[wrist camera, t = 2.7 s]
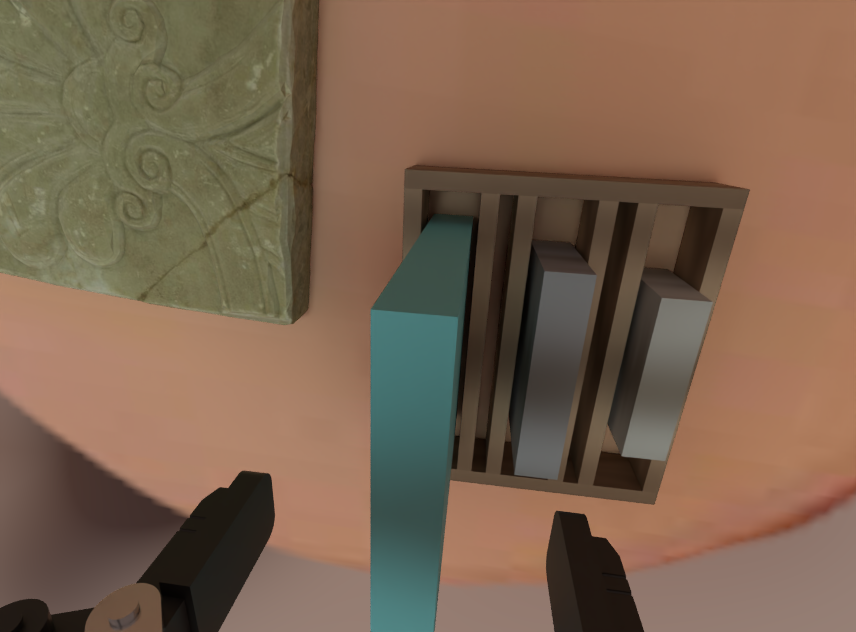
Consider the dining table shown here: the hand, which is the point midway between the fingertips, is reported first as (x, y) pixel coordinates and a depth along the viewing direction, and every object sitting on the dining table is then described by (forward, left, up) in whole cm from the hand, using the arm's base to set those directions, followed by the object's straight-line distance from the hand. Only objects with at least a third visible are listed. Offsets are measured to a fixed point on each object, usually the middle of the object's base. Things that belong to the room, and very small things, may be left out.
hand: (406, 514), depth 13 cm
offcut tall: (0, +5, -14) cm, 15 cm away
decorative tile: (-10, -17, -15) cm, 25 cm away
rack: (0, +5, -14) cm, 15 cm away
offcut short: (0, +10, -14) cm, 17 cm away
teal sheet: (0, 0, -14) cm, 14 cm away
